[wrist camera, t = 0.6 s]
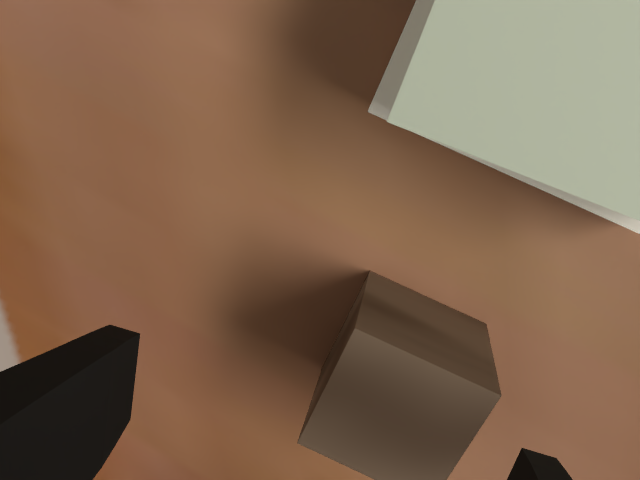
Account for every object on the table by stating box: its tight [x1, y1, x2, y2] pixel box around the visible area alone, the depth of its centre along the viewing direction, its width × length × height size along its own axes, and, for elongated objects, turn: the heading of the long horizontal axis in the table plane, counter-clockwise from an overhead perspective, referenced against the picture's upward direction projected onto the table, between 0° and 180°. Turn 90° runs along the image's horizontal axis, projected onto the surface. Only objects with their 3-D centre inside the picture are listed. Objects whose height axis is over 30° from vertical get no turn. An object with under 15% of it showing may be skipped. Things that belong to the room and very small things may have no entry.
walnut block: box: [298, 271, 501, 480], centre depth 19 cm, size 4×4×4 cm
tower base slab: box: [368, 0, 640, 234], centre depth 16 cm, size 9×9×2 cm
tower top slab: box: [387, 0, 640, 221], centre depth 14 cm, size 8×8×2 cm
